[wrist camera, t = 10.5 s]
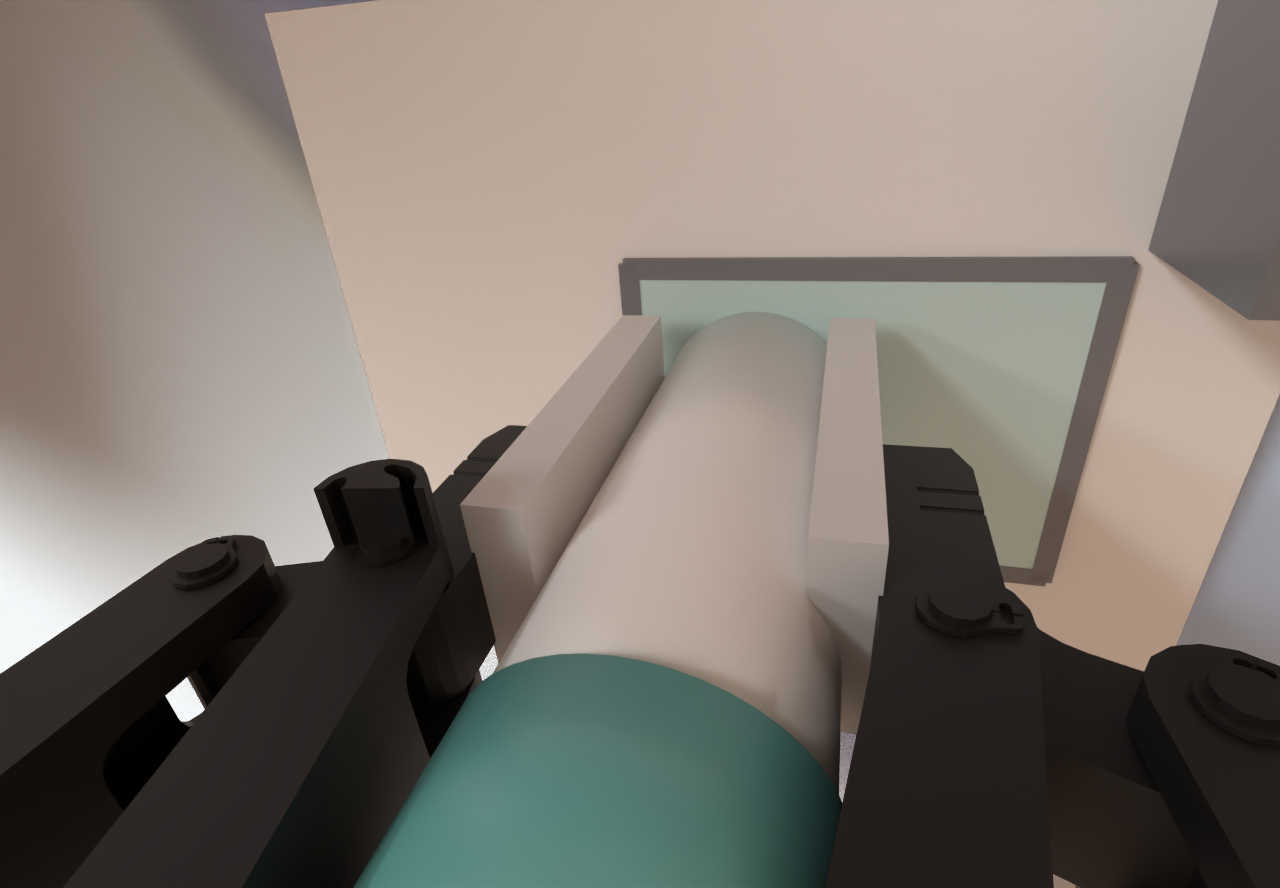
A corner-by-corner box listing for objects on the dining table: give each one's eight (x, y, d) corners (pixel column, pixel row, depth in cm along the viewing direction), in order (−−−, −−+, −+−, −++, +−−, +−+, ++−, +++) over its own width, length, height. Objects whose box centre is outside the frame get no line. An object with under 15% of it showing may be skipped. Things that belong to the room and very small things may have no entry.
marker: (662, 463, 15) (337, 1156, 6) (667, 296, 14) (199, 920, 4) (837, 490, 15) (799, 1352, 5) (870, 317, 13) (910, 1174, 3)
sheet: (437, 575, 20) (424, 591, 20) (286, 14, 14) (259, 12, 13) (1147, 670, 16) (1159, 695, 15) (1459, -121, 9) (1504, -133, 8)
